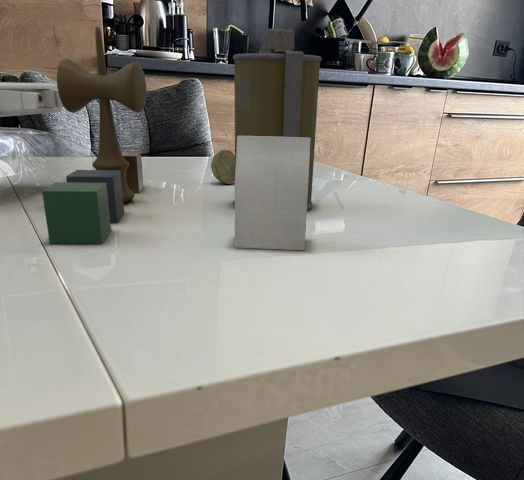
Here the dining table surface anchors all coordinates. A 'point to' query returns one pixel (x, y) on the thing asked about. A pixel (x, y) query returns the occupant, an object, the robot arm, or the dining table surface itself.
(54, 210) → the forest green block
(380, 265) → the dining table surface
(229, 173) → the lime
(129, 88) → the kendama
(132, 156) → the walnut block
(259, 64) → the canister
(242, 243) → the light grey block
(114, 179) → the slate block
